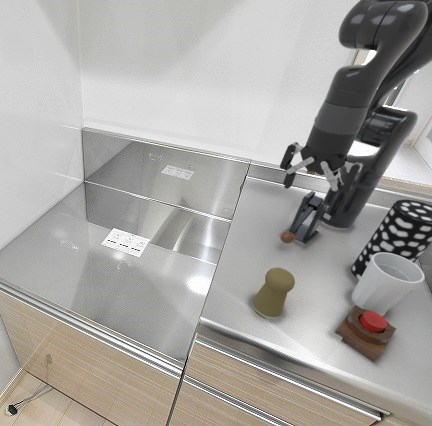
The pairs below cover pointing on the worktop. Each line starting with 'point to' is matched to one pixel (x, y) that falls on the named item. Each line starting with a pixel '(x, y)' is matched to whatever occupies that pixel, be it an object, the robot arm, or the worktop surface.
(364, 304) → the cup
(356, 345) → the button block
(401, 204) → the white-spotted black cylinder
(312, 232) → the lever bracket
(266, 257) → the worktop surface
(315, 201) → the lever
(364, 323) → the button
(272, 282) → the cork
